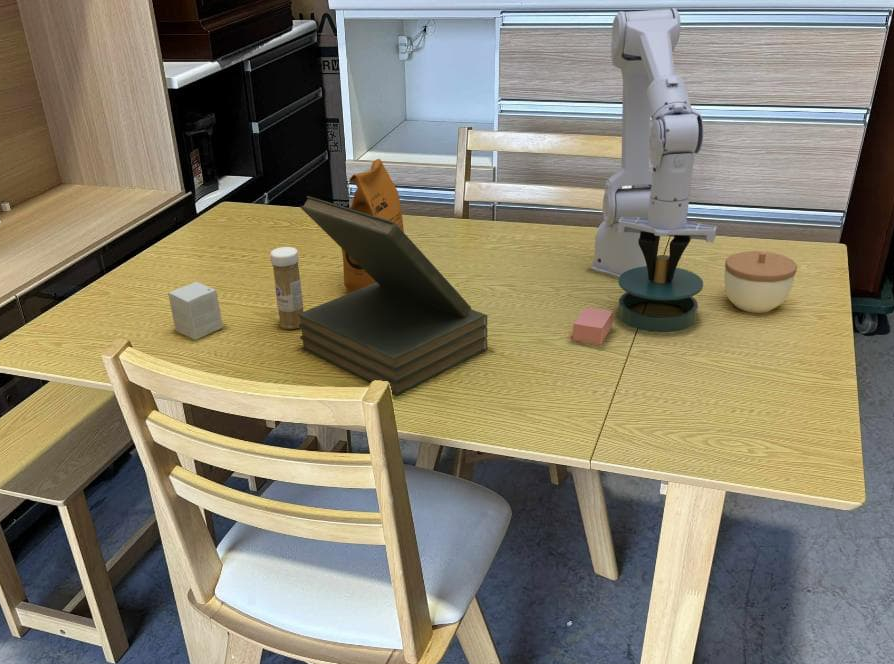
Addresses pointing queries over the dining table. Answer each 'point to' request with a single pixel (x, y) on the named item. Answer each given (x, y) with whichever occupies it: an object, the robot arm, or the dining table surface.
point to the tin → (657, 322)
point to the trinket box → (758, 280)
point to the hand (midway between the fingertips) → (660, 279)
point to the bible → (389, 307)
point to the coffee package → (375, 200)
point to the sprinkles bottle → (287, 286)
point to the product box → (195, 310)
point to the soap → (592, 325)
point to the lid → (660, 282)
